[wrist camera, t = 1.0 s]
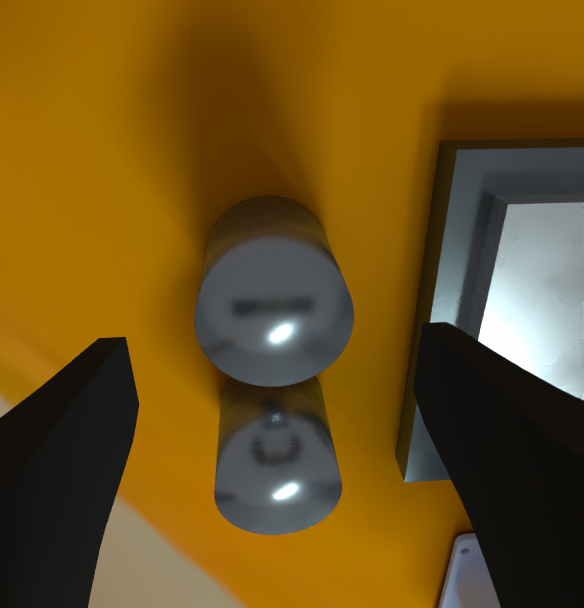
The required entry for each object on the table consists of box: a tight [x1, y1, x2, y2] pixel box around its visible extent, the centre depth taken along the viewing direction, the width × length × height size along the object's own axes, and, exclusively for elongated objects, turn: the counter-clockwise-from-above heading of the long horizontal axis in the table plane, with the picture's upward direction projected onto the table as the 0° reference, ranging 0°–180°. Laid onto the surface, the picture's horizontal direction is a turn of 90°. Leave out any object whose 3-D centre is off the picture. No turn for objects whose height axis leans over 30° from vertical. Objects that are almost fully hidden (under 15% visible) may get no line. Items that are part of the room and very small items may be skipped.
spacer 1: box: [195, 196, 354, 387], centre depth 16 cm, size 4×4×5 cm
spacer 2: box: [214, 376, 342, 535], centre depth 19 cm, size 4×4×5 cm
